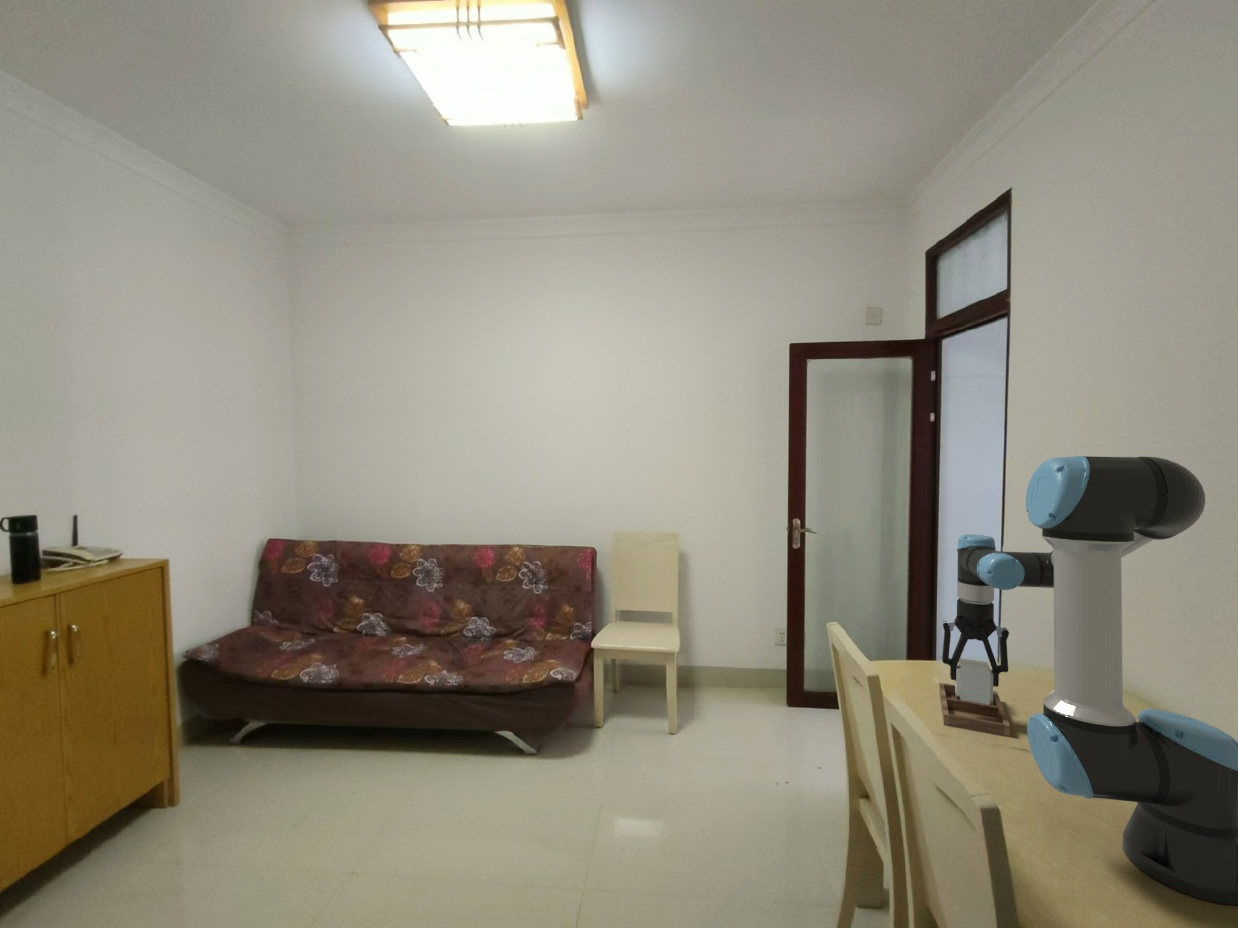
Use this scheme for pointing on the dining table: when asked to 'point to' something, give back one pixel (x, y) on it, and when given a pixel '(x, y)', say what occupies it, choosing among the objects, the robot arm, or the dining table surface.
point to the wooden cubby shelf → (973, 713)
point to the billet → (974, 681)
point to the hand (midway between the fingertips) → (973, 695)
